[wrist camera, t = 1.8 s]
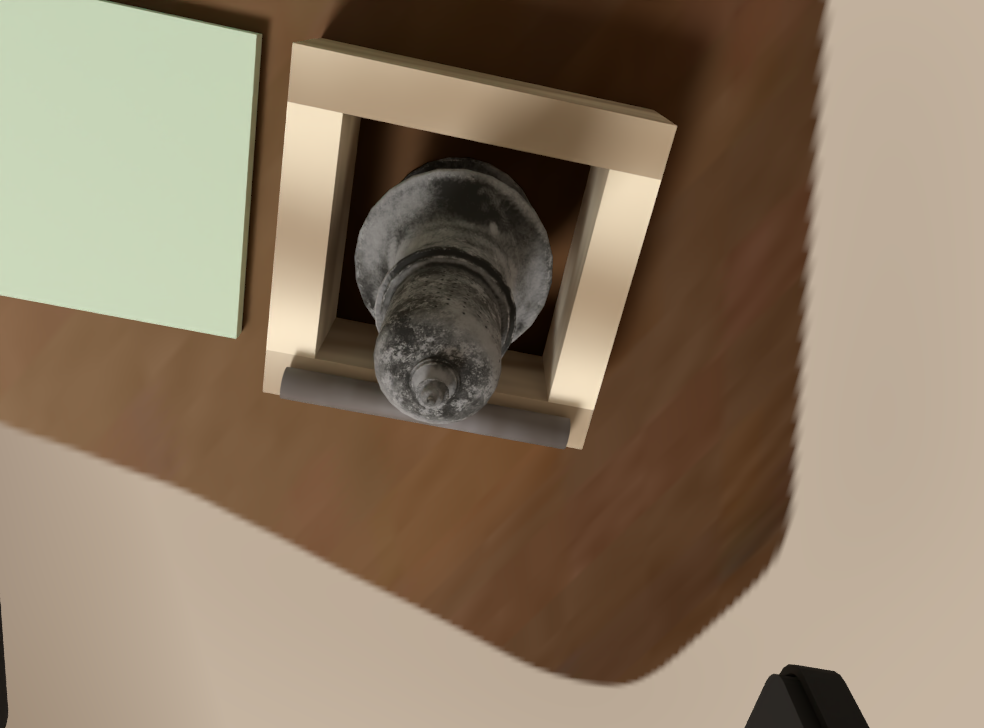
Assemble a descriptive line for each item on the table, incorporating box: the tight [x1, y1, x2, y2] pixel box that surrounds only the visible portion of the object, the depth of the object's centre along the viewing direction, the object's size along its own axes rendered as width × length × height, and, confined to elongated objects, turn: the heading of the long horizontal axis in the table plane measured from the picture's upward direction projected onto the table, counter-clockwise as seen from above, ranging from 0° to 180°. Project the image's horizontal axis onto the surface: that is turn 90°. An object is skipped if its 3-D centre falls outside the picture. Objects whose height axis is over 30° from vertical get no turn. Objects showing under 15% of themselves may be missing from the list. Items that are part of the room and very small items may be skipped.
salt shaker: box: [354, 158, 553, 424], centre depth 20 cm, size 6×6×12 cm
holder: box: [263, 38, 677, 449], centre depth 24 cm, size 10×10×4 cm
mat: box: [0, 0, 262, 339], centre depth 25 cm, size 10×10×1 cm
